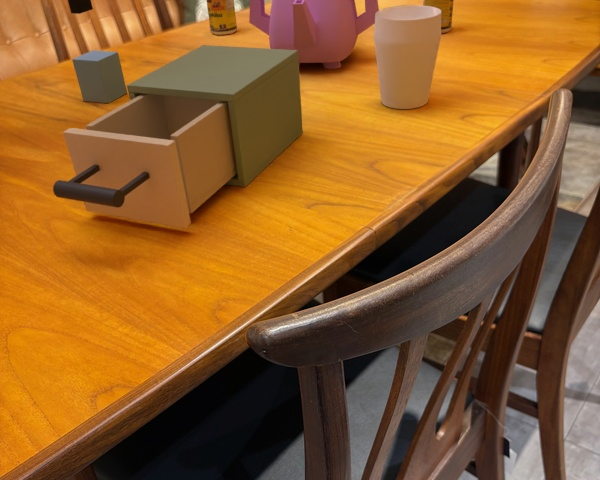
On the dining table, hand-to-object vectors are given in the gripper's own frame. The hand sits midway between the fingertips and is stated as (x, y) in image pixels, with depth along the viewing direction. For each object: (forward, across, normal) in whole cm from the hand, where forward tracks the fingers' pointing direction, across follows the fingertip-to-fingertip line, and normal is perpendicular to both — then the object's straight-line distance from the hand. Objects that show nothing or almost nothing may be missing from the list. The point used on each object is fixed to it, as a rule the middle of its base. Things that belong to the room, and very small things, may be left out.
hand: (82, 11), depth 84 cm
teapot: (+15, -19, -33) cm, 41 cm away
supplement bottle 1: (+15, +8, -47) cm, 50 cm away
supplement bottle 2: (+15, -35, -57) cm, 68 cm away
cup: (+15, -41, -17) cm, 47 cm away
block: (+14, +6, -6) cm, 17 cm away
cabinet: (+14, -25, +7) cm, 30 cm away
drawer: (+14, -26, +22) cm, 36 cm away
